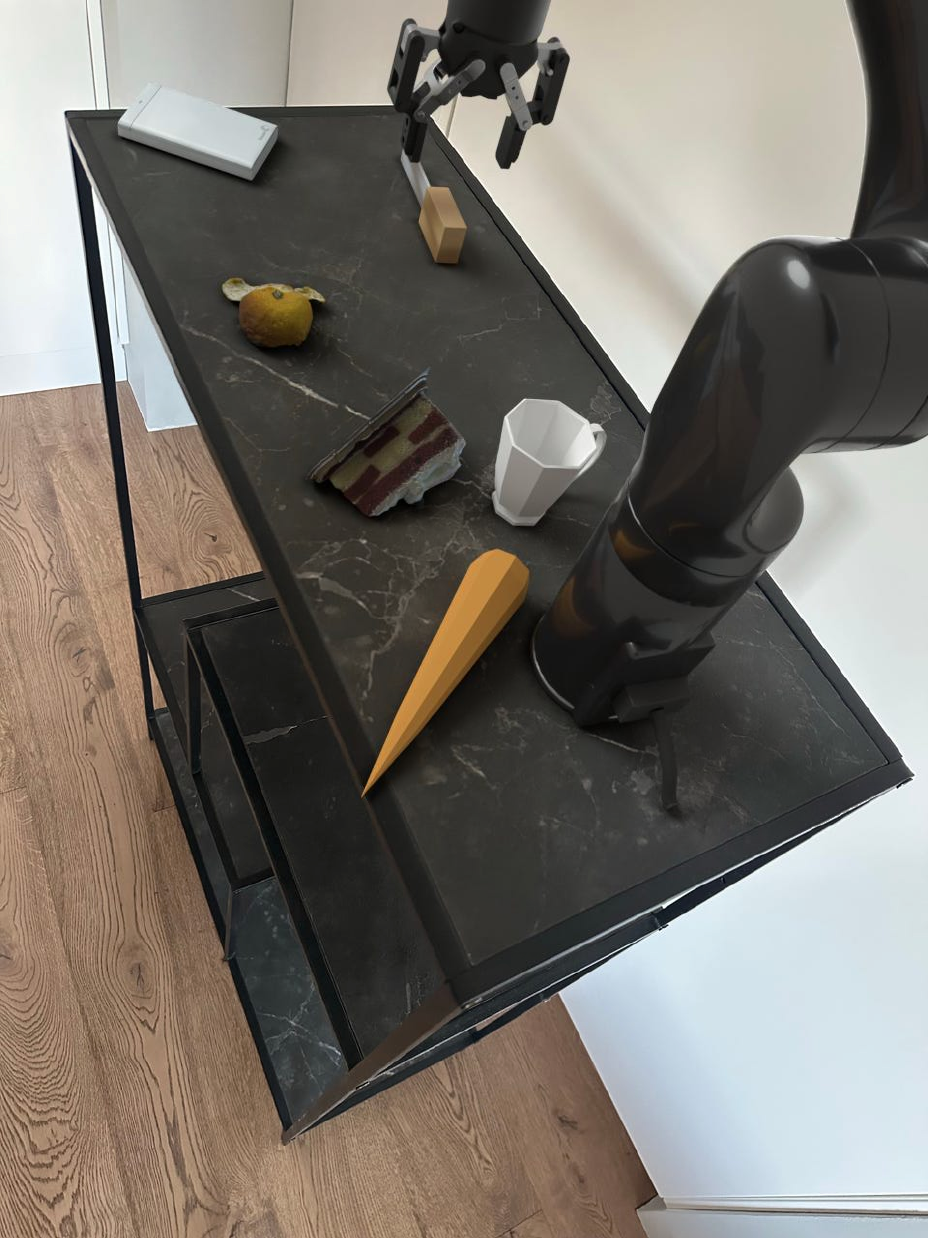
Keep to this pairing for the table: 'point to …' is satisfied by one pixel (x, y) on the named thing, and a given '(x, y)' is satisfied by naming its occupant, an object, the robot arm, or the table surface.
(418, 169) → the knife
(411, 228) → the table surface
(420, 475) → the chocolate cake
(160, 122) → the hard drive
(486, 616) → the carrot
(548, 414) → the cup
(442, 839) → the table surface
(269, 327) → the fruit
